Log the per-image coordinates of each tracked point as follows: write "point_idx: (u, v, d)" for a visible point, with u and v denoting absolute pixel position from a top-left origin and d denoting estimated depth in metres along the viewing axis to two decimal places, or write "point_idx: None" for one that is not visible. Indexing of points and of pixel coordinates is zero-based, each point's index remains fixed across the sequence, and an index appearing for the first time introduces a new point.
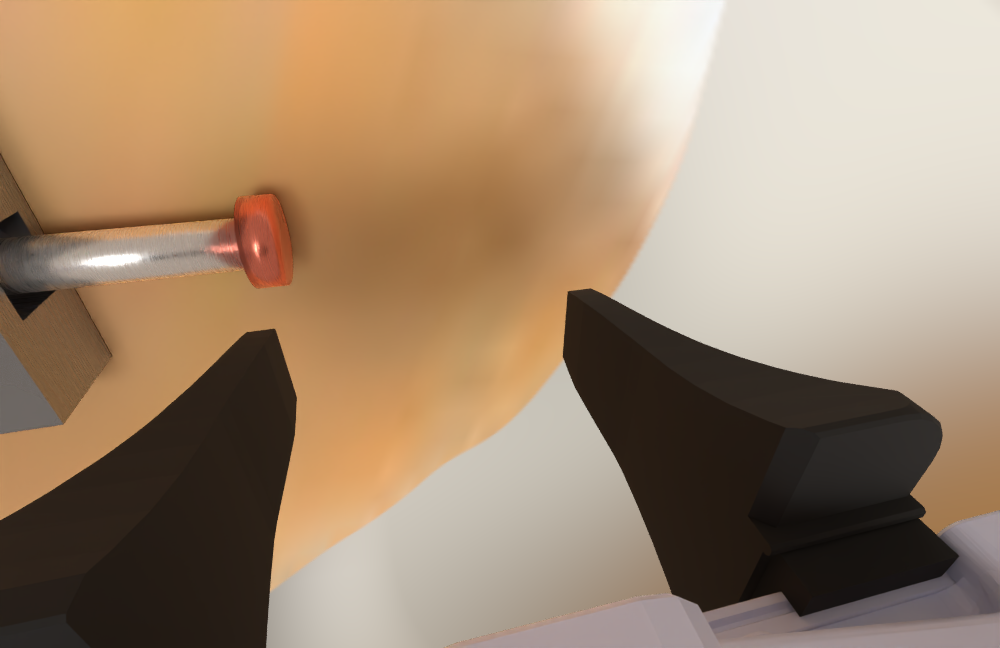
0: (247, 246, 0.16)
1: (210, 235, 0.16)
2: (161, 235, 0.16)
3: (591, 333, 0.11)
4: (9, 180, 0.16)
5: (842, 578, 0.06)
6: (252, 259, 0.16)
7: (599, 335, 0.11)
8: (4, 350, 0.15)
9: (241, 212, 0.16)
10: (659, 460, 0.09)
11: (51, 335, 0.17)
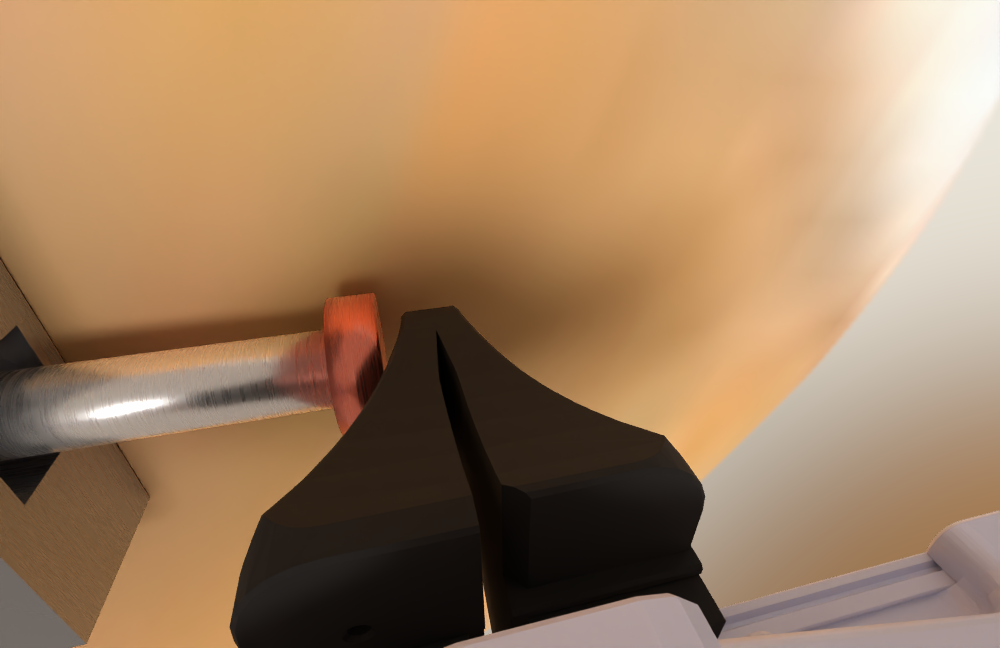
0: (345, 391, 0.10)
1: (282, 367, 0.10)
2: (206, 370, 0.10)
3: (439, 355, 0.10)
4: (4, 278, 0.10)
5: None
6: (351, 409, 0.10)
7: (442, 358, 0.10)
8: None
9: (335, 335, 0.10)
10: (475, 497, 0.08)
11: (67, 508, 0.11)
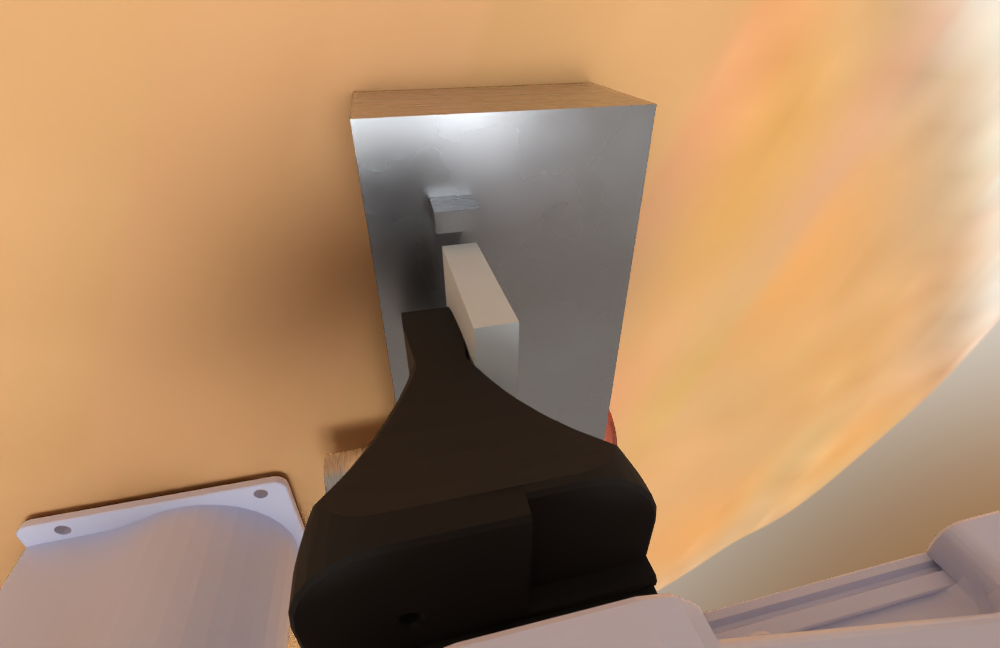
0: None
1: None
2: None
3: (409, 360, 0.10)
4: None
5: None
6: None
7: (411, 363, 0.10)
8: None
9: None
10: None
11: None
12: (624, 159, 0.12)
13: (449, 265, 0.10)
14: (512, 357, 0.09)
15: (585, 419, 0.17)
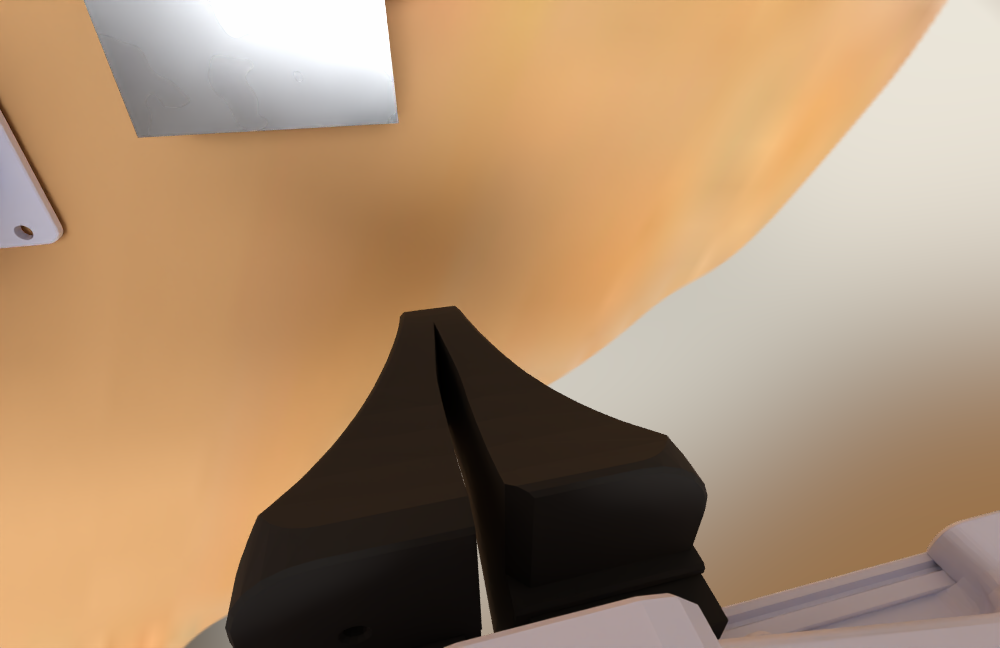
0: None
1: None
2: None
3: (440, 355, 0.10)
4: None
5: None
6: None
7: (443, 358, 0.10)
8: None
9: None
10: (477, 497, 0.08)
11: None
12: None
13: None
14: None
15: None
